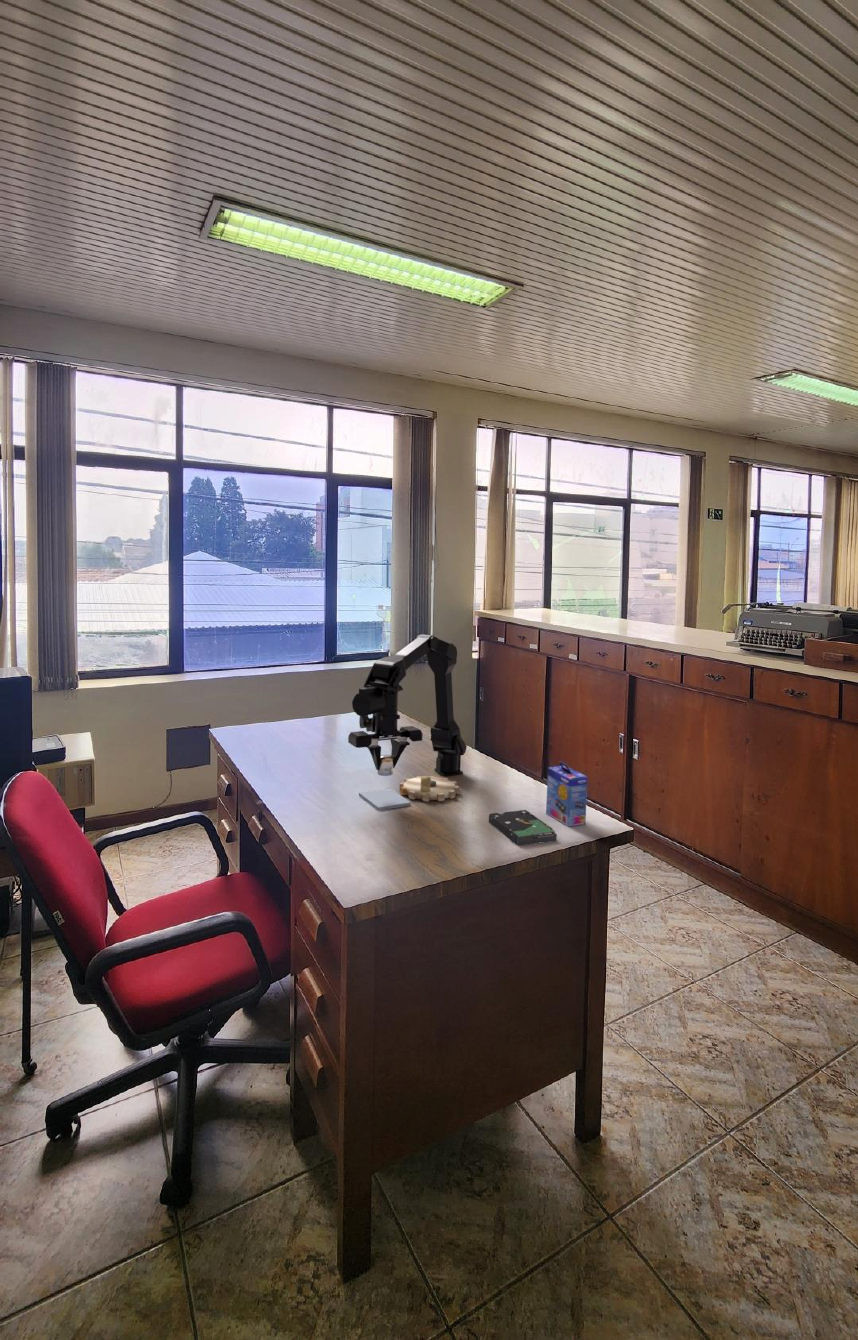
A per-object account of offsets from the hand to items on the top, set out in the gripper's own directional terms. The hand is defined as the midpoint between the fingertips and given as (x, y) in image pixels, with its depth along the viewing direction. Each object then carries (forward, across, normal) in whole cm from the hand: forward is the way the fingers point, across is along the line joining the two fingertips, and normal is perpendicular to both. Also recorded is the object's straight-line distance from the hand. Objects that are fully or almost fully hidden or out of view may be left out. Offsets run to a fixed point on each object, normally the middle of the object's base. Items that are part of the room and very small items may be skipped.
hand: (385, 768), depth 173 cm
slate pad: (+8, 0, 0) cm, 9 cm away
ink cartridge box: (+9, -35, +30) cm, 47 cm away
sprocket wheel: (+8, -14, -1) cm, 16 cm away
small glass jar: (+1, 0, 0) cm, 1 cm away
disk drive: (+9, -20, +32) cm, 39 cm away
